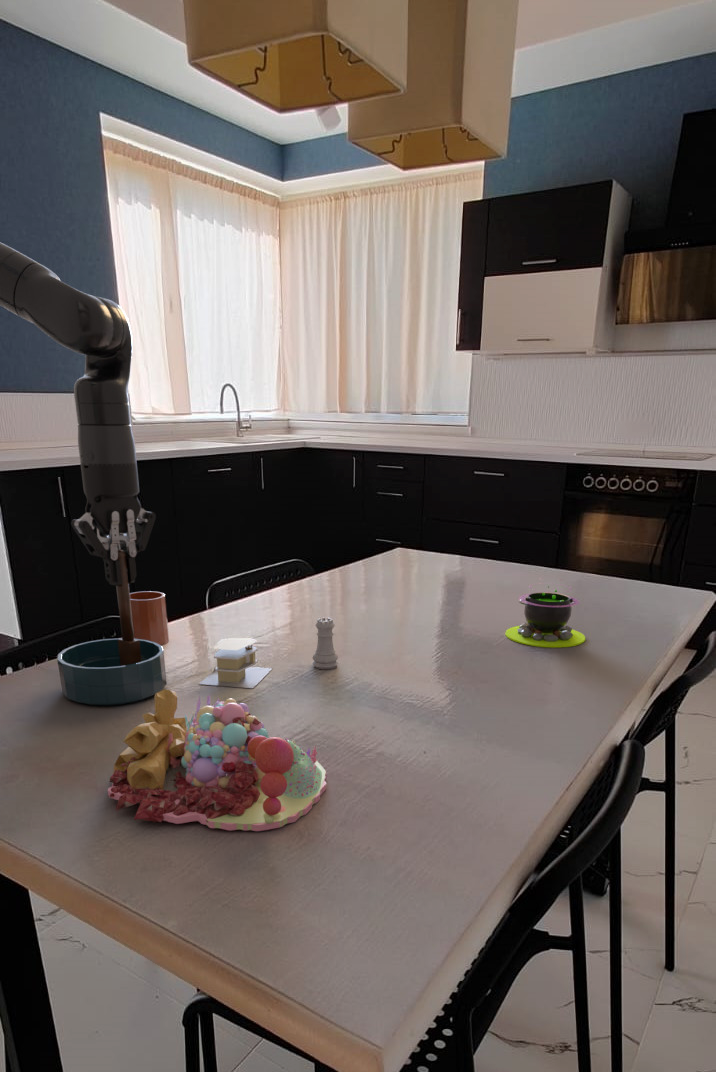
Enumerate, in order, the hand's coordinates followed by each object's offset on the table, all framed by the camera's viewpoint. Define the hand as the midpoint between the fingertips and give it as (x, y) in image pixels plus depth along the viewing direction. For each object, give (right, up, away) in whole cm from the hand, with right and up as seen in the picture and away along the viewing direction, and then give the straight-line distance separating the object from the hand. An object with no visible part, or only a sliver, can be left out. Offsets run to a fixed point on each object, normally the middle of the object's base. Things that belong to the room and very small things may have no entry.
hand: (121, 583), depth 114 cm
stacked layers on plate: (+15, -13, +11) cm, 23 cm away
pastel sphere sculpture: (+19, -28, -24) cm, 41 cm away
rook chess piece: (+29, -11, +16) cm, 35 cm away
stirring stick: (0, -12, +5) cm, 13 cm away
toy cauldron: (+71, -4, +34) cm, 79 cm away
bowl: (-2, -16, +4) cm, 16 cm away
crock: (-3, -6, +26) cm, 27 cm away
